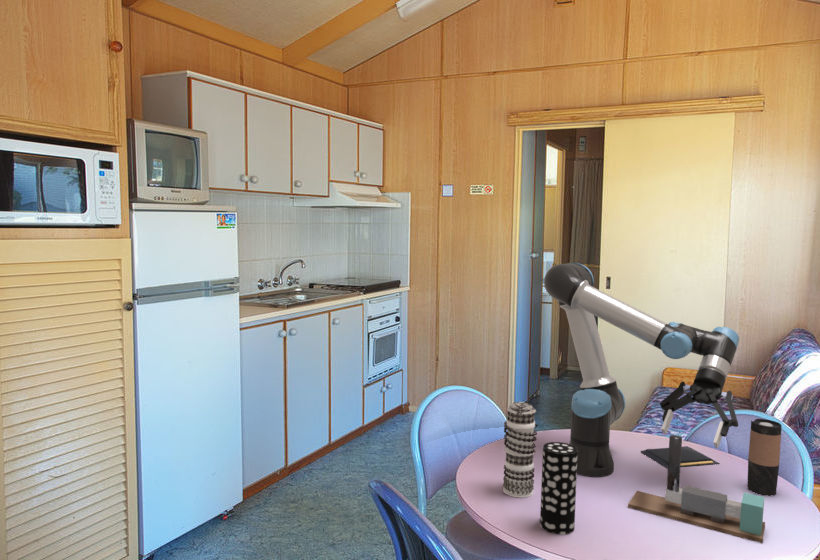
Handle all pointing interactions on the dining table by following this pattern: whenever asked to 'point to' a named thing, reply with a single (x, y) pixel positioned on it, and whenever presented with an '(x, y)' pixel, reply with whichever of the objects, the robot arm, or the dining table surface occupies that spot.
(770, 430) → the travel mug
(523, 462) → the decorative candle
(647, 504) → the base board
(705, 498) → the grey notched block
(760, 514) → the socket
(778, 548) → the dining table surface
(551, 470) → the white-spotted black cylinder
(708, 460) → the black book
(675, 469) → the grey two-tone fixture
